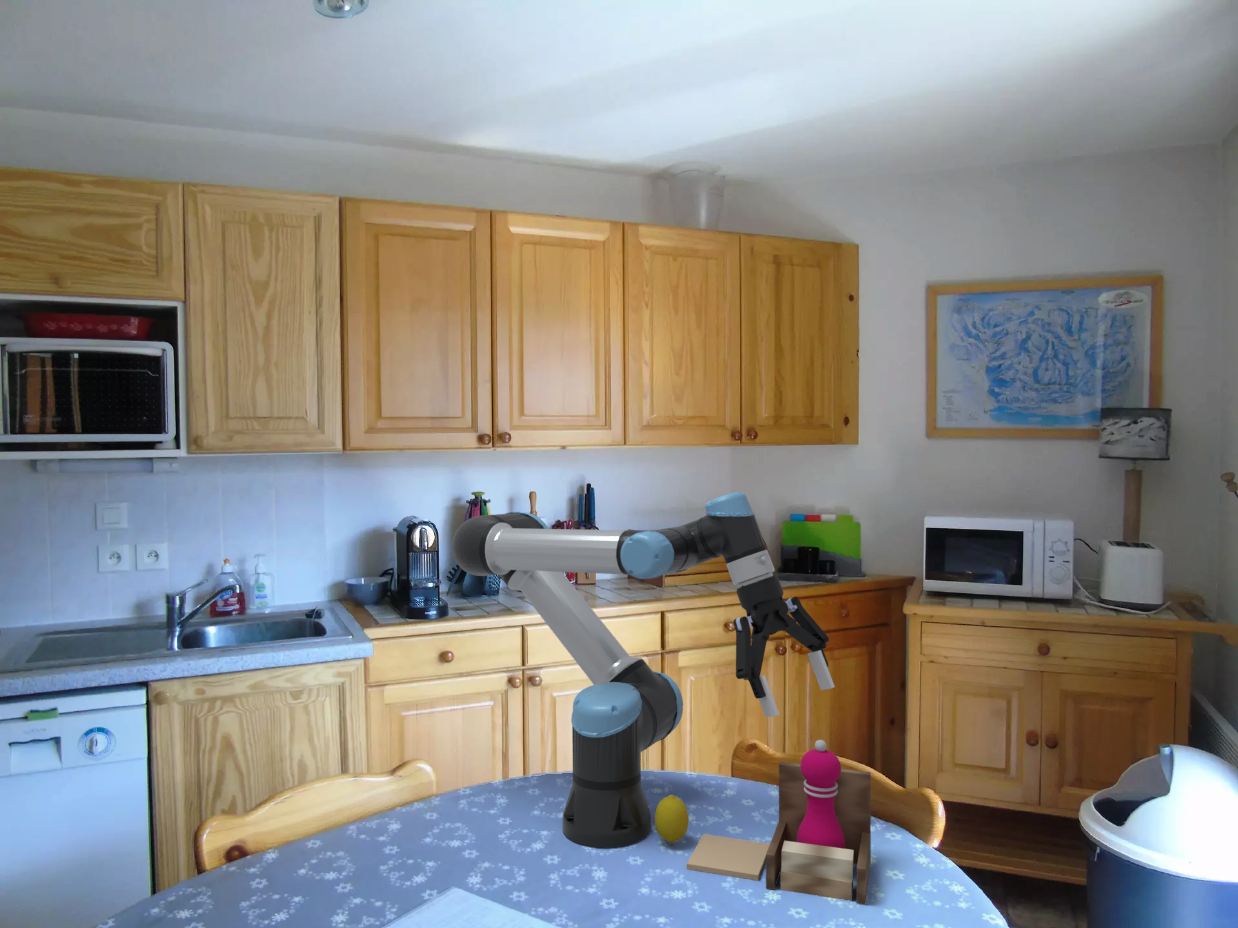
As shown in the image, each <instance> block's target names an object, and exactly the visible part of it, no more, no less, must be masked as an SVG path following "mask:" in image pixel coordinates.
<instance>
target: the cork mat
mask: <svg viewBox="0 0 1238 928" xmlns="http://www.w3.org/2000/svg"><path fill="white" fill-rule="evenodd" d="M769 845H770V843H767V842H762V841H754V840H747V839H741V838H734V837H727V836H722V835H721V836H719V835H716V834H715V835H713V834H709V833H708V834H707V833H703V834H702V836H701V838H700V839H699V841H698V843H697V844H696V847H695V849H694V850H693V852H692V854H691V855H690V857H689V859H688V861H687V862H686V870H689V871H690V870H691V871H696V872H697V871H698V872H703V873H704V872H705V873H708V874H716V875H723V876H728V877H734V878H739V879H746V880H753V881H759V879H760V877H761V874H762V872H763V870H764V867H765V865H766V853H767V850H768V848H769Z"/></svg>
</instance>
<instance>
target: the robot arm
mask: <svg viewBox="0 0 1238 928" xmlns="http://www.w3.org/2000/svg"><path fill="white" fill-rule="evenodd" d="M704 506H705V507H704V508H705V515H704V516H703V517H701V518H699V519H696V520H693V521H691V522H688V523H685V524H682V525H678V526H673V527H668V528H662V529H653V530H650V529H649V530H641V529H639V530H638V529H637V530H626V529H625V530H622V529H621V530H619V529H615V530H614V529H568V528H567V529H565V528H562V529H561V528H560V529H559V528H549V527H548V525H547V524H546V523H545V521H543V520H542V519H541V518H540V517H539V516H537V515H535V514H533V513H530V512H523V511H522V512H521V511H510V512H505V513H500V514H499V513H498V514H485V515H477V516H473V517H470V518H468V519H467V520H465V521H464V522H463V523H461V524H460V525H459V527H458V528H457V529H456V530H455V532H454V535H453V538H452V544H451V551H452V554H453V559H454V560H455V563H456V565H458V566H459V568H460V569H461V570H463V571H464V572H466V573H467V574H469V575H472V576H477V577H479V576H480V577H483V576H484V577H487V576H493V575H495V576H499V577H500V578H501V580H502V581H503V582H504V584H505V585H506V586H507V587H508V588H509V590H511V591H521V593H522V594H523V595H524V596H525V598H526V599H527V600H528V601H529V603H530V605H532V607H533V608H534V609H535V611H536V612H537V613H538V615H539V616H540V617H541V618H542V620H543V621H544V623H545V624H546V625H547V626H548V628H549V629H550V630H551V631H552V633H553V635H555V636H556V638H557V639H558V640H559V642H560V643H561V644H562V646H563V647H564V648H565V649H566V651H567V652H568V653H569V654H570V656H571V657H572V658H573V660H574V662H576V663H577V665H578V667H580V669H581V670H582V671H583V674H585V676H586V677H587V678H588V679H589V681H590V682H591V683H592V684H593V685H590V686H587V687H585V688H583V689H581V690H580V691H579V692H578V693H577V694H576V695H575V698H574V699H573V702H572V713H571V718H570V719H571V720H570V721H571V722H570V723H571V727H572V729H571V730H572V731H571V734H572V736H571V737H572V742H571V743H572V785H571V787H570V791H569V795H568V797H567V801H566V804H565V807H564V810H563V812H562V832H563V834H564V835H565V837H566V838H567V839H569V840H571V841H572V842H574V843H577V844H579V845H583V846H587V847H594V848H619V847H625V846H630V845H632V844H636V843H638V842H640V841H642V840H643V839H645V838H647V837H648V836H649V834H650V833H651V832H652V831H651V830H652V812H651V809H650V806H649V803H648V800H647V797H646V793H645V792H644V788H643V785H642V752H643V751H645V750H647V749H648V748H650V747H652V746H653V745H655V744H656V743H657V742H660V741H662V740H664V739H666V738H667V737H668V736H669V735H670V734H672V732H673V731H674V730H675V729H676V728H677V727H678V726H679V724H680V722H681V720H682V716H683V713H684V711H683V710H684V700H683V699H684V698H683V695H682V692H681V689H680V687H679V686H678V684H677V683H676V681H674V679H672V677H670V676H669V675H667V674H665V673H663V672H658V671H654V670H652V668H650V666H649V665H648V664H647V663H646V661H645V660H644V659H643V658H642V657H637V656H631V655H630V654H629V653H628V652H627V651H626V649H625V648H624V647H623V646H622V645H621V643H620V642H619V640H618V639H617V638H616V636H614V635H613V633H612V632H611V630H610V629H608V627H607V626H606V625H605V623H604V622H603V621H602V620H601V618H600V617H599V616H598V615H597V614H596V612H595V611H594V610H593V608H592V607H591V606H590V605H589V603H588V602H587V601H586V600H585V599H584V597H583V596H582V594H580V592H579V591H578V590H577V589H576V588H575V586H574V585H573V583H571V581H570V580H569V579H568V577H567V576H566V575H565V573H579V574H581V573H584V574H602V575H603V574H605V575H607V574H609V575H610V574H611V575H625V576H626V575H627V576H628V575H629V576H632V577H633V578H636V579H640V580H645V579H647V580H648V579H657V578H659V577H661V576H664V575H673V574H676V573H677V574H678V573H682V572H685V571H687V570H688V569H690V568H695V567H696V566H698V565H701V564H704V563H706V562H708V561H711V560H714V559H716V558H720V557H722V558H723V559H724V563H725V565H726V568H727V570H728V573H729V577H730V579H731V582H732V584H733V586H737V589H736V594H737V597H738V600H739V602H740V605H741V608H742V609H744V610H745V612H746V616H745V615H744V616H741V617H737V618H735V619H733V626H734V627H733V628H734V630H735V678H737V680H744V681H748V682H749V685H750V687H751V690H752V693H753V695H754V698H755V699H756V700H757V699H758V701H759V703H760V706H761V708H762V712H763V714H764V716H765V717H764V718H771V717H777V716H779V715H780V712H779V710H778V706H777V704H776V702H775V699H774V696H773V694H772V693H773V692H772V691H771V688H770V685H769V681H768V679H767V677H766V675H761V672H762V667H763V662H764V657H765V652H766V648H767V647H766V646H767V642H768V639H769V638H770V636H772V635H776V633H779V632H781V631H783V632H785V633H786V634H788V635H789V636H791V637H792V638H793V639H795V640H796V641H797V642H798V643H800V644H801V645H802V646H803V647H805V648H806V649H808V650H809V653H808V652H807V657H808V659H809V662H810V665H811V667H812V670H813V673H814V676H815V678H816V680H817V683H818V685H819V688H820V691H824V690H831V689H833V688H836V686H835V683H834V681H833V678H832V676H831V672H830V670H829V662H828V660H827V656H826V654H825V652H824V649H826V648H827V643H829V641H830V638H829V636H828V635H827V634H826V633H825V632H824V630H823V629H822V628H821V627H820V625H818V623H817V622H816V621H815V620H814V619H813V617H812V616H811V614H809V613H808V611H807V610H806V609H804V607H803V604H802V603H801V600H800V599H799V597H798V596H792V597H790V598H786V599H785V600H784V598H783V595H784V593H785V592H784V590H783V587H782V584H781V583H780V579H779V577H778V576H776V575H774V574H773V573H774V572H775V571H776V570H775V566H774V563H773V562H772V561H773V560H772V559H771V556H770V554H769V551H768V549H767V546H766V543H765V541H764V538H763V535H762V532H761V529H760V526H759V523H758V520H757V519H756V514H755V512H754V511H753V509H752V507H751V504H750V503H749V499H748V498H747V496H746V494H745V493H743V492H742V491H735V492H730V493H728V494H725V495H722V496H719V497H716V498H714V499H712V500H710V501H708V502H707V503H706V504H705V505H704ZM789 614H790V615H789ZM751 628H752V629H751ZM751 630H752V631H751Z"/></svg>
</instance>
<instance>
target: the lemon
mask: <svg viewBox="0 0 1238 928" xmlns="http://www.w3.org/2000/svg"><path fill="white" fill-rule="evenodd" d="M689 820H690V818H689V812H688V809H687V806H686V804H685V802H684V801H683V800H682V799H681V798H679V797H678V796H675V795H674V794H669V795H668V796H665V797H664V798H662V799H661V800H660V801H659V802H658V804H657V806H656V808H655V813H654V825H655V826H654V827H655V830H656V832H657V834H658V835H659V837H660V838H661V839H662V840H664V841H667V842H668V843H669V844H670V845H674V844H675V843H676V842H678V841H680V840H681V839H683V838H684V837H685V836H686V834H687V832H688V828H689V823H690V821H689Z"/></svg>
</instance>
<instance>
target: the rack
mask: <svg viewBox="0 0 1238 928" xmlns="http://www.w3.org/2000/svg"><path fill="white" fill-rule="evenodd" d="M800 766H801V763H800V764H799V763H794V762H784V761H780V762H779V764H778V821H777V825H776V827H775V830H774V833H773V835H772V837H771V841H770V843H769V844H770V845H769V848H768V850H767V853H766V861H765V889H767V890H773V891H775V889H776V886H777V883H778V881H779V880H778V879H779V878H780V875H781V869H782V847H783V844H784V841H791V842H797V833H798V830H799V827H800V825H801V823H802V821H803V819H804V816H805V814H806V811H807V802H808V799H807V793H806V792H805V791H804V787H805V785H804V781H805V780H806V778H805V777H804V776H803V774H802V772H801V767H800ZM871 776H872V773H871V772H870V771H862V770H853V769H844V768H841V774H840V776H839V778H838V779H837V780H836V783H837V784H838V787H837V790H838V793H837V794H836V795H835V797H834V810H835V814H836V817H837V820H838V822H839V824H840V827H841V829H842V831H843V834H844V838H845V849H850V850H854V864H856V904H857V903H859V904H858V905H863V904H866V905H867V898H866V897H867V896H868V889H869V888H868V887H869V882H870V881H869V879H870V871H871V863H872V861H871V860H872V859H871V858H872V854H871V853H872V848H871V847H872V843H871V840H872V837H871V835H872V833H871V827H872V825H871V824H872V821H871V820H872V819H871V817H872V815H871V814H872V812H871V807H872V806H871V805H872V804H871V803H872V801H871V799H872V797H871V796H872V795H871V787H872V786H871V782H872V781H871V780H872V779H871Z"/></svg>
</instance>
